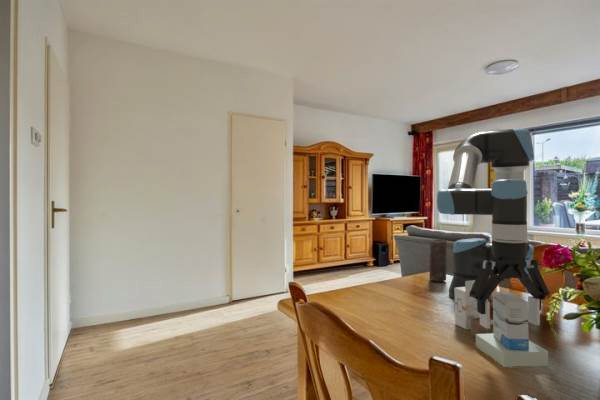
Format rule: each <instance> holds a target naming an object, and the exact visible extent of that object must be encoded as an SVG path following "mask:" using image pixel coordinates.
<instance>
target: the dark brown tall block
mask: <svg viewBox="0 0 600 400" xmlns="http://www.w3.org/2000/svg"><path fill="white" fill-rule="evenodd" d="M447 245H448V244H447V239H445V238H433V239H430V246H429V280H430V281H433V282H436V283H440V282H445V281H446V280H447Z"/></svg>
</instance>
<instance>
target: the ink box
mask: <svg viewBox="0 0 600 400" xmlns="http://www.w3.org/2000/svg"><path fill="white" fill-rule="evenodd" d="M492 312H493V313H492V315H493V316H492V317H493V318H492V320H493V335H494V336H495V337H496V338H497V339H498V340H499V341H500V342H501V343H502V344H503V345H504V346H505V347H506V348H507V349H514V350H529V341H530V338H529V322H528V300H525V299H523V298H522V297H520V296H519V295H517V294H515V293H514V292H512V291H511V292H510V291H493V292H492Z"/></svg>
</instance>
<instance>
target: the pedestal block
mask: <svg viewBox="0 0 600 400" xmlns="http://www.w3.org/2000/svg"><path fill="white" fill-rule="evenodd" d="M475 347H476V348H477V349H478V350H479V349H480V352H482V353H483V352H484V355H486V354H487V355H486V356H488V355H489V356H490V357H492V358H493V359H494V360H495V362H496V361H497V362H498V363H499V364H498V363H497V362H496V363H497V364H498V365H500V364H501V365H502V366H503V368H504V367H509V368H516V367H515V366H530V367H545V366H546V367H547V366H549V351H548V350H547V349H545V348H544V347H542V346H540V345H538V344H536V343H535V342H533V341H531V340H529V350H514V349H507V348H506V347H505V346H504V345H503V344H502V343H501V342H500V341H499V340H498V339H497V338H496V337H495V336H494V335H493V333H489V334H476V338H475ZM489 356H488V357H489ZM490 357H489V358H490ZM492 358H491V359H492ZM493 359H492V360H493ZM494 360H493V361H494ZM501 365H500V366H501ZM502 366H501V367H502ZM513 366H514V367H513Z"/></svg>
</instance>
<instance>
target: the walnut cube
mask: <svg viewBox="0 0 600 400" xmlns="http://www.w3.org/2000/svg"><path fill="white" fill-rule="evenodd" d="M489 333H493V319H491V318H490V328H489V329H487V328H485V327H483V326H482V325H480V317H479V318H474V319H471V329H470V337H472V338H474V339H476V334H489Z"/></svg>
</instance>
